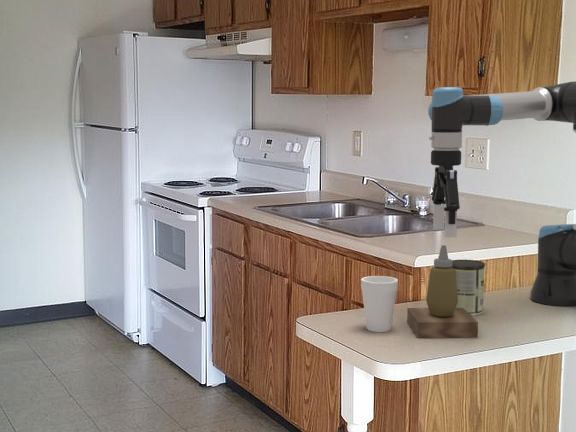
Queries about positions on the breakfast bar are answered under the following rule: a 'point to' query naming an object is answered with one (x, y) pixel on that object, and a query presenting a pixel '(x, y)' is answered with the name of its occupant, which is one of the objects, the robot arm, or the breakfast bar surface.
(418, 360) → the breakfast bar surface
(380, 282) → the foam cup
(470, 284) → the coffee can
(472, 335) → the walnut base
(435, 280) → the squeeze bottle
